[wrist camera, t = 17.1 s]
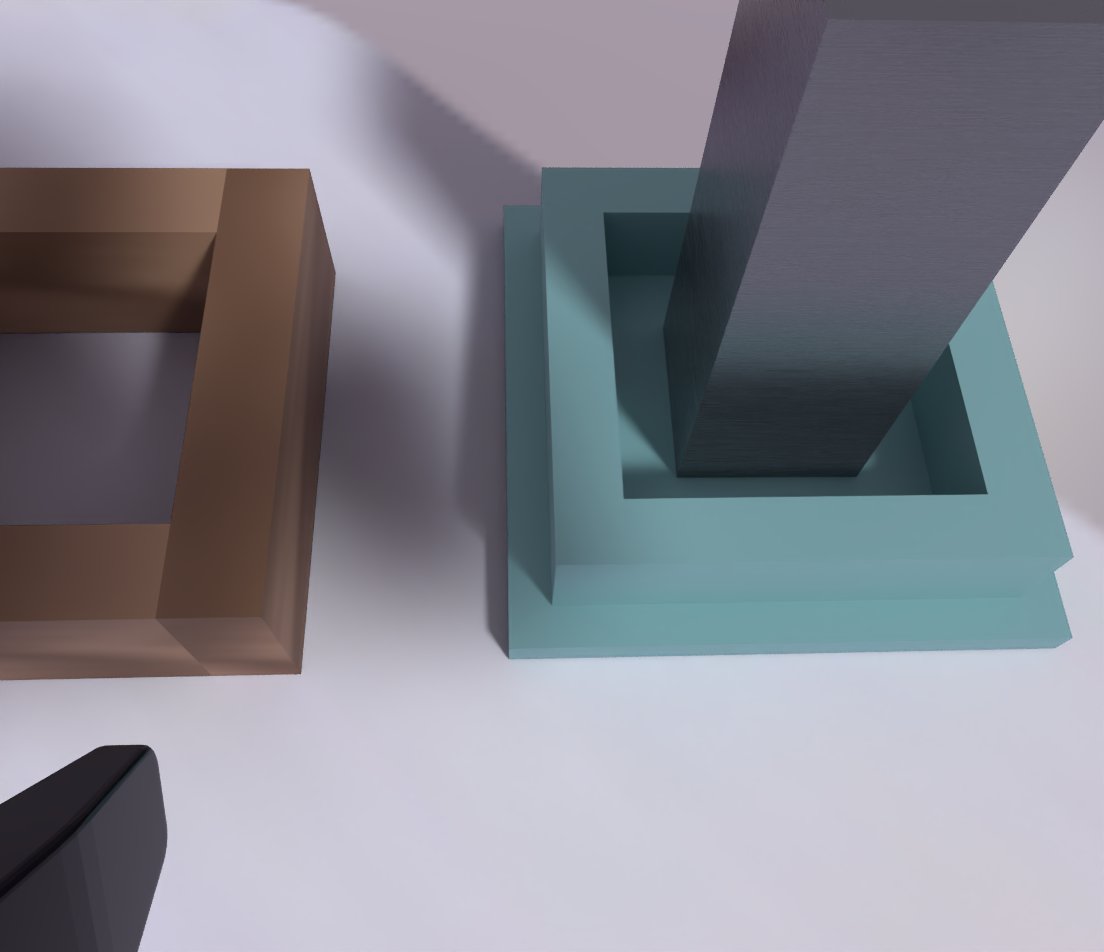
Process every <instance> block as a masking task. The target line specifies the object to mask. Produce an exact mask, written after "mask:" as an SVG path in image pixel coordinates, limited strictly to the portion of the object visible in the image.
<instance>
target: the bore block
mask: <svg viewBox="0 0 1104 952" xmlns="http://www.w3.org/2000/svg"><path fill="white" fill-rule="evenodd" d="M335 274H336V273H335V269H334V265H333V261H332V257H331V253H330V249H329V245H328V241H327V237H326V233H325V229H324V225H323V221H322V217H321V213H320V209H319V205H318V201H317V197H316V193H315V189H314V185H313V181H312V177H311V173H310V169H225V168H0V333H77V332H201V334H200V340H199V347H198V353H197V359H196V366H195V372H194V378H193V385H192V391H191V397H190V403H189V410H188V416H187V422H186V429H185V435H184V441H183V447H182V454H181V460H180V466H179V473H178V479H177V485H176V492H175V498H174V504H173V510H172V517H171V523H156V524H81V525H7V526H0V680H32V679H81V678H129V677H178V676H226V675H275V674H301V669H302V657H303V645H304V634H305V622H306V611H307V599H308V587H309V576H310V564H311V552H312V541H313V529H314V518H315V506H316V494H317V483H318V471H319V460H320V448H321V436H322V425H323V413H324V402H325V390H326V378H327V367H328V355H329V344H330V332H331V320H332V309H333V297H334V286H335Z"/></svg>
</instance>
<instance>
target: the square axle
mask: <svg viewBox="0 0 1104 952" xmlns="http://www.w3.org/2000/svg"><path fill="white" fill-rule="evenodd" d="M1103 120H1104V0H739V4H738V8H737V12H736V17H735V21H734V25H733V29H732V34H731V38H730V42H729V47H728V51H727V55H726V59H725V64H724V68H723V72H722V77H721V81H720V85H719V90H718V94H717V98H716V102H715V107H714V111H713V115H712V119H711V124H710V128H709V132H708V137H707V141H706V145H705V149H704V154H703V158H702V163H701V167H700V171H699V175H698V179H697V184H696V188H695V192H694V197H693V201H692V205H691V209H690V214H689V218H688V222H687V227H686V231H685V235H684V239H683V244H682V248H681V252H680V257H679V261H678V265H677V269H676V274H675V278H674V282H673V287H672V291H671V295H670V299H669V304H668V308H667V312H666V317H665V321H664V325H663V333H664V344H665V355H666V366H667V377H668V388H669V399H670V411H671V422H672V433H673V444H674V455H675V466H676V477H677V478H721V477H857V476H858V474H859V473H860V471H861V470H862V468H863V467H864V466H865V464H866V463H867V461H868V460H869V458H870V457H871V455H872V454H873V453H874V451H875V450H876V448H877V447H878V445H879V444H880V442H881V441H882V439H883V438H884V437H885V435H886V434H887V432H888V431H889V429H890V428H891V426H892V425H893V424H894V422H895V421H896V419H897V418H898V416H899V415H900V413H901V412H902V411H903V409H904V408H905V406H906V405H907V403H908V402H909V400H910V399H911V398H912V396H913V395H914V393H915V392H916V390H917V389H918V387H919V386H920V385H921V383H922V382H923V380H924V379H925V377H926V376H927V374H928V373H929V372H930V370H931V369H932V367H933V366H934V364H935V363H936V361H937V360H938V358H939V357H940V356H941V354H942V353H943V351H944V350H945V348H946V347H947V345H948V344H949V343H950V341H951V340H952V338H953V337H954V335H955V334H956V332H957V331H958V330H959V328H960V327H961V325H962V324H963V322H964V321H965V319H966V318H967V317H968V315H969V314H970V312H971V311H972V309H973V308H974V306H975V305H976V304H977V302H978V301H979V299H980V298H981V296H982V295H983V293H984V292H985V291H986V289H987V288H988V286H989V285H990V283H991V282H992V280H993V279H994V277H995V276H996V275H997V273H998V272H999V270H1000V269H1001V267H1002V266H1003V264H1004V263H1005V262H1006V260H1007V258H1008V257H1009V256H1010V254H1011V253H1012V251H1013V250H1014V249H1015V247H1016V246H1017V244H1018V243H1019V241H1020V240H1021V238H1022V237H1023V235H1024V234H1025V233H1026V231H1027V230H1028V228H1029V227H1030V225H1031V224H1032V223H1033V221H1034V220H1035V218H1036V217H1037V215H1038V214H1039V212H1040V211H1041V209H1042V208H1043V207H1044V205H1045V204H1046V202H1047V201H1048V199H1049V198H1050V196H1051V195H1052V194H1053V192H1054V191H1055V189H1056V188H1057V186H1058V185H1059V183H1060V182H1061V180H1062V179H1063V178H1064V176H1065V175H1066V173H1067V172H1068V170H1069V169H1070V167H1071V166H1072V164H1073V163H1074V162H1075V160H1076V159H1077V157H1078V156H1079V155H1080V153H1081V152H1082V150H1083V149H1084V147H1085V146H1086V144H1087V143H1088V141H1089V140H1090V139H1091V137H1092V136H1093V134H1094V133H1095V131H1096V130H1097V128H1098V127H1099V126H1100V124H1101V123H1102V121H1103Z"/></svg>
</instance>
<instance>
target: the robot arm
mask: <svg viewBox="0 0 1104 952" xmlns="http://www.w3.org/2000/svg"><path fill="white" fill-rule="evenodd" d="M166 848H167V823H166V816H165V809H164V802H163V795H162V788H161V781H160V773H159V766H158V761H157V758H156V755H155V753H154V751H153V750H152V749H151V748H150V747H149V746H147V745H109V746H102V747H98V748H96V749H94V750H93V751H91V752H89V753H88V754H86V755H84V756H82V757H81V758H79V759H77V760H76V761H74V762H72V763H70V764H69V765H67V766H65V767H64V768H62V769H60V770H58V771H57V772H55V773H53V774H51V775H50V776H48V777H46V778H45V779H43V780H41V781H39V782H38V783H36V784H34V785H33V786H31V787H29V788H27V789H26V790H24V791H22V792H21V793H19V794H17V795H15V796H14V797H12V798H10V799H9V800H7V801H5V802H3V803H2V804H0V952H138V949H139V945H140V942H141V938H142V935H143V931H144V928H145V925H146V921H147V918H148V914H149V911H150V907H151V904H152V900H153V897H154V893H155V890H156V887H157V883H158V880H159V876H160V873H161V869H162V866H163V862H164V858H165V854H166Z"/></svg>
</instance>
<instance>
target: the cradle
mask: <svg viewBox="0 0 1104 952" xmlns="http://www.w3.org/2000/svg"><path fill="white" fill-rule="evenodd" d="M699 171H700V168H542V184H541V206H504V280H505V365H506V450H507V535H508V621H509V659H539V658H589V657H639V656H689V655H739V654H788V653H838V652H888V651H938V650H988V649H1037V648H1056V647H1058V646H1060V645H1061V644H1063V643H1065V642H1066V641H1068V640H1070V639H1071V638H1072V635H1071V631H1070V628H1069V624H1068V620H1067V617H1066V613H1065V610H1064V606H1063V603H1062V599H1061V596H1060V592H1059V588H1058V585H1057V581H1056V578H1055V574H1054V571H1056V570H1057V569H1058V568H1060V567H1061V566H1062V565H1064V564H1065V563H1066V562H1068V561H1069V560H1070V559H1072V558H1073V557H1074V556H1073V553H1072V550H1071V546H1070V543H1069V539H1068V536H1067V533H1066V529H1065V526H1064V522H1063V519H1062V516H1061V512H1060V509H1059V505H1058V502H1057V499H1056V495H1055V492H1054V488H1053V485H1052V482H1051V478H1050V475H1049V471H1048V468H1047V464H1046V461H1045V458H1044V454H1043V451H1042V447H1041V445H1040V441H1039V437H1038V434H1037V430H1036V427H1035V424H1034V420H1033V417H1032V413H1031V410H1030V407H1029V404H1028V400H1027V396H1026V393H1025V390H1024V386H1023V383H1022V380H1021V376H1020V373H1019V369H1018V366H1017V363H1016V359H1015V355H1014V352H1013V349H1012V345H1011V342H1010V338H1009V335H1008V332H1007V328H1006V325H1005V322H1004V318H1003V315H1002V311H1001V308H1000V304H999V301H998V298H997V294H996V291H995V288H994V284H993V281H992V282H991V283H990V285H989V286H988V288H987V289H986V291H985V292H984V293H983V295H982V296H981V298H980V299H979V301H978V302H977V304H976V305H975V306H974V308H973V309H972V311H971V312H970V314H969V315H968V317H967V318H966V319H965V321H964V322H963V324H962V325H961V327H960V328H959V330H958V331H957V332H956V334H955V335H954V337H953V338H952V340H951V341H950V343H949V344H948V345H947V347H946V348H945V350H944V351H943V353H942V354H941V356H940V357H939V358H938V360H937V361H936V363H935V364H934V366H933V367H932V369H931V370H930V372H929V373H928V374H927V376H926V377H925V379H924V380H923V382H922V383H921V385H920V386H919V387H918V389H917V390H916V392H915V393H914V395H913V396H912V398H911V399H910V400H909V402H908V403H907V405H906V406H905V408H904V409H903V411H902V412H901V413H900V415H899V416H898V418H897V419H896V421H895V422H894V424H893V425H892V426H891V428H890V429H889V431H888V432H887V434H886V435H885V437H884V438H883V439H882V441H881V442H880V444H879V445H878V447H877V448H876V450H875V451H874V453H873V454H872V455H871V457H870V458H869V460H868V461H867V463H866V464H865V466H864V467H863V468H862V470H861V471H860V473H859V474H858V476H857V477H721V478H677V477H676V466H675V455H674V444H673V433H672V422H671V411H670V399H669V388H668V377H667V366H666V355H665V344H664V333H663V325H664V321H665V317H666V312H667V308H668V304H669V299H670V295H671V291H672V287H673V282H674V278H675V274H676V269H677V265H678V261H679V257H680V252H681V248H682V244H683V239H684V235H685V231H686V227H687V222H688V218H689V214H690V209H691V205H692V201H693V197H694V192H695V188H696V184H697V179H698V175H699Z"/></svg>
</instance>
